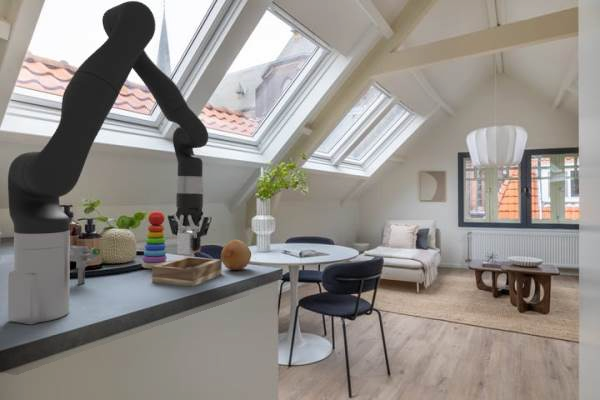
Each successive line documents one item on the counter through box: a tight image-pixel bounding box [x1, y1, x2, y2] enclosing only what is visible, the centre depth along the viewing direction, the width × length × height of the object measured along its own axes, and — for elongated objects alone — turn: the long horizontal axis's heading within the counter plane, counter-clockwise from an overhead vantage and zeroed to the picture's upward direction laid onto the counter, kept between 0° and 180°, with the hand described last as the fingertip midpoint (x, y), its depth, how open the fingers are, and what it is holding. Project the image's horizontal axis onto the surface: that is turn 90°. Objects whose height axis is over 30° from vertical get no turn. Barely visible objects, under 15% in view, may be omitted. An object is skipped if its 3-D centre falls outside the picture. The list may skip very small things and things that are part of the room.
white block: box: [176, 230, 202, 255], centre depth 107 cm, size 6×4×6 cm, turn 164°
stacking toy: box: [141, 210, 168, 269], centre depth 121 cm, size 8×8×19 cm
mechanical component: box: [70, 245, 101, 285], centre depth 98 cm, size 3×10×10 cm, turn 79°
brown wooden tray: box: [151, 256, 223, 287], centre depth 107 cm, size 16×13×4 cm
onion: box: [220, 239, 252, 271], centre depth 120 cm, size 10×10×10 cm
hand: (189, 249), depth 107 cm, fingers closed on white block, 4 cm apart
